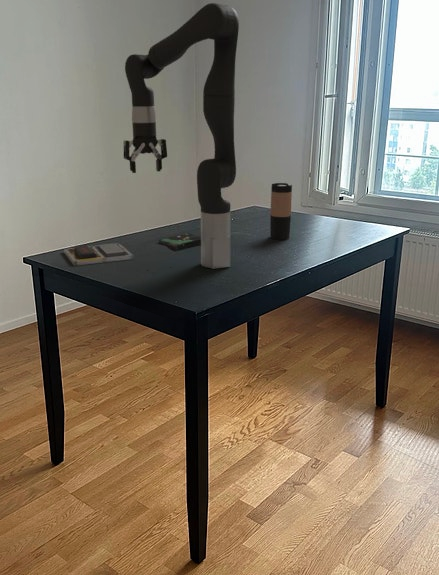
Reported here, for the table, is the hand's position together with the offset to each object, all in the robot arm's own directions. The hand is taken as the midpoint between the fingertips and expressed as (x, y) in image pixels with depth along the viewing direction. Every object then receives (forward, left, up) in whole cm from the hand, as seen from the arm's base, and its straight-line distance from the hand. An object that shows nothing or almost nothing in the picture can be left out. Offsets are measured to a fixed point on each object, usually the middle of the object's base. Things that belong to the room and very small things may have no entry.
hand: (146, 172), depth 193 cm
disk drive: (+4, -14, -28) cm, 31 cm away
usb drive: (-2, +23, -26) cm, 35 cm away
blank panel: (-3, +14, -26) cm, 30 cm away
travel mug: (-2, -51, -27) cm, 58 cm away
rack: (-3, +18, -27) cm, 33 cm away
